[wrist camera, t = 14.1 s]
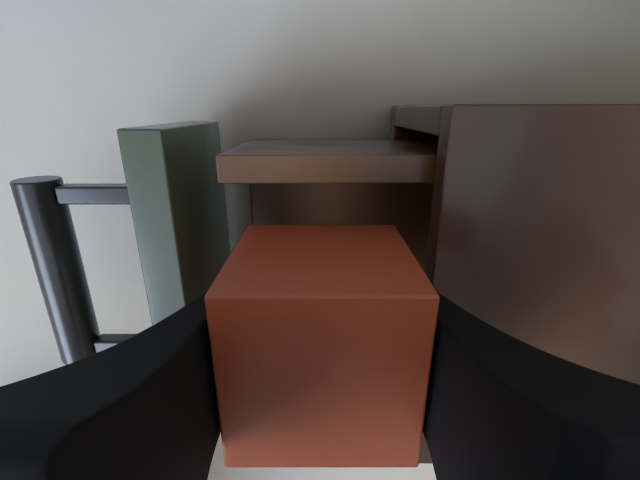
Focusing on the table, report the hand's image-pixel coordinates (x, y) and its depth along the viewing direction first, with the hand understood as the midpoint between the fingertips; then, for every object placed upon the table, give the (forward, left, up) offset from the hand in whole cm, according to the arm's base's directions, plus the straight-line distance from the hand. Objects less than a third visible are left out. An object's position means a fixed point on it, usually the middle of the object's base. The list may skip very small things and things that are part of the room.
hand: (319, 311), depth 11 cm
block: (0, 0, -1) cm, 1 cm away
